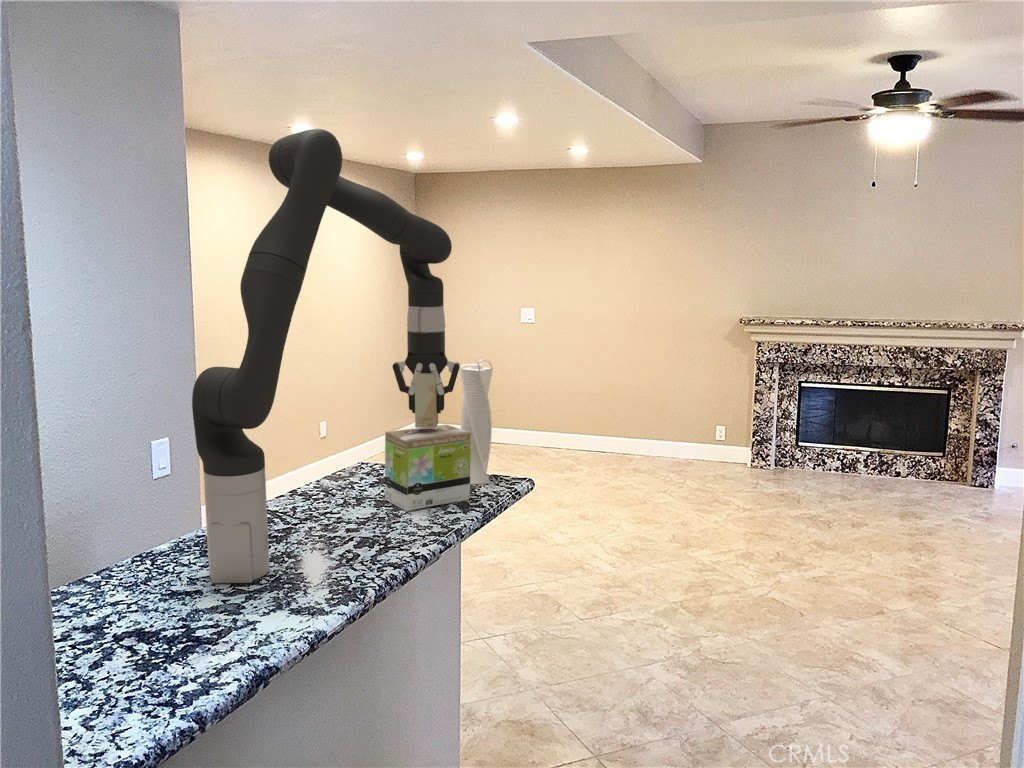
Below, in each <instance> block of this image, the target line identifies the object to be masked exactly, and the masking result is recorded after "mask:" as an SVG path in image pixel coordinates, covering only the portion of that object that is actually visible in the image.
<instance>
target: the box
mask: <svg viewBox="0 0 1024 768" xmlns="http://www.w3.org/2000/svg"><path fill="white" fill-rule="evenodd" d="M436 379H437V378H436V374H435V373H418V374H415V413H414V420H415V421H414V423H415V424H414V425H415V427H414V428H436V427H437V426H439V425H438V424H439V413H437V394H438V391H437V388H436Z"/></svg>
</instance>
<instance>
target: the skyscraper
mask: <svg viewBox="0 0 1024 768" xmlns="http://www.w3.org/2000/svg"><path fill="white" fill-rule="evenodd" d="M480 362H487V363H488V364H489V366H490V367H484V364H483V363H480ZM493 370H494V368H493V366H492V363H491V361H490V360H488V359H486V358H481V359H479V360H477V362H476V363H465V364H464V363H463V364H461V365H460V368H459V375H460V382H461V388H462V394H463V399H462V405H461V412H460V413H461V414H460V429H461V430H464V431H467V432H469V433H471V451H470V486H471V485H484V484H488V485H489V484H491V482H490V479H489V476H488V474H487V471H488V467H489V460H490V454H491V453H490V451H491V444H492V423H493V422H492V412H491V405H490V401H489V391H490V386H491V381H492V376H493Z"/></svg>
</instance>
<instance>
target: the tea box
mask: <svg viewBox="0 0 1024 768" xmlns="http://www.w3.org/2000/svg"><path fill="white" fill-rule="evenodd" d="M384 437H385V440H384V442H385V443H384V499H385V501H387V502H389V503H390V504H393V505H394V506H396V507H398V508H399V509H401V510H403V511H406V512H411V511H415V510H420V509H424V508H429V507H436V506H439V505H440V506H441V505H447V504H453V503H458V502H465V501H466V502H467V501H469V500H470V497H471V496H470V494H471V493H470V492H471V485H470V451H471V433H469V432H467V431H464V430H461V428H458V427H455V426H451V425H449V424H441V425H440V424H439V425H437V427H436V428H415V427H414V428H408V429H399V430H390V431H385V435H384Z"/></svg>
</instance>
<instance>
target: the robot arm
mask: <svg viewBox="0 0 1024 768" xmlns="http://www.w3.org/2000/svg"><path fill="white" fill-rule="evenodd" d="M269 149H270V150H269V152H268V164H269V168H270V170H271V174H273V175H272V176H274V178H275V179H276V181H278V182H279V184H281V185H282V186H284V187H286V188H287V189H288V190H287V193H286V195H285V197H284V199H283V201H282V203H281V205H280V206H279V208H278V209H277V211H276V212H275V213H274V215H272V217H271V218H270V220H268V222H267V223H266V225H265V226H264V227H263V228H262V230H261V231H260V232H259V234H258V235H257V238H256V239H255V240H254V242H253V244H252V247H251V249H250V251H249V253H248V255H247V256H248V257H247V260H246V263H245V266H244V269H243V272H242V276H241V279H240V284H239V285H240V289H239V290H240V297H241V303H242V306H243V311H244V313H245V314H244V315H245V318H246V322H247V323H246V324H247V332H248V335H247V342H246V344H245V350H244V355H243V357H242V360H241V363H240V365H239V367H228V366H211V367H209V368H206V369H205V370H203V371H202V372H201V373H200V374H199V375H198V376H197V378H196V380H195V381H194V382H195V383H194V385H193V389H192V394H191V395H192V396H191V398H192V399H191V405H192V406H191V408H192V419H193V427H194V437H195V445H196V450H197V454H198V456H199V458H200V460H201V461H202V469H203V483H204V484H203V485H204V501H205V502H204V503H205V504H204V505H205V520H206V521H205V525H206V538H207V539H206V543H207V555H208V560H207V561H208V576H209V578H210V580H211V583H212V584H249V583H253V581H254V580H257V579H259V578H262V577H264V576H265V575H266V574H268V573H269V572H270V549H269V548H270V547H269V529H268V526H269V525H268V508H267V507H268V504H267V485H266V482H267V480H266V459H265V452H264V450H263V449H262V447H260V446H259V445H258V444H256V443H255V442H254V441H252V440H251V439H250V438H249V437H248V436H247V435H246V433H245V432H244V430H253V429H256V428H258V427H260V426H261V425H262V424H264V423H265V421H266V419H268V417H269V414H270V413H271V410H272V407H273V405H274V402H275V398H276V393H277V392H276V391H277V389H278V384H279V383H278V382H279V378H280V377H279V376H280V372H281V368H282V367H281V366H282V360H283V355H284V349H285V346H286V341H287V339H288V334H289V330H290V328H291V327H290V326H291V323H292V319H293V316H294V311H295V310H296V309H295V308H296V305H297V302H298V300H299V296H300V293H301V291H302V286H303V283H304V279H305V276H306V272H307V270H308V264H309V261H310V256H311V254H312V250H313V247H314V246H315V245H314V244H315V242H316V239H317V235H318V233H319V232H318V231H319V228H320V225H321V221H322V220H323V218H324V217H323V216H324V214H325V212H326V210H327V207H329V208H331V209H333V210H336V211H337V212H339V213H341V214H343V215H344V216H346V217H348V218H350V219H352V220H354V221H355V222H357V223H359V224H360V225H362V226H363V227H365V228H366V229H368V230H370V231H371V232H372V233H374V234H375V235H377V236H379V237H380V238H381V239H383V240H385V241H386V242H388V243H390V244H392V245H396V246H399V256H400V261H401V264H402V268H403V272H404V276H405V279H406V282H407V287H408V288H407V291H408V293H407V301H408V303H407V304H408V307H407V314H406V315H407V316H406V317H407V318H406V319H407V321H406V322H407V324H406V325H407V328H406V330H407V331H406V334H407V336H406V337H407V355H406V358H405V360H402V361H399V362H398V361H395V362H394V363H392V369H393V373H394V375H395V376H394V377H395V379H396V383H397V385H398V389H399V391H400V393H405V394H407V395H408V410H409V411H411V413H412V414H415V374H418V373H435V374H436V378H437V379H436V388H437V391H438V394H437V413H438V414H442V411H444V409H445V395H446V394H448V393H452V392H453V390H454V388H455V384H456V380H457V378H458V374H459V372H460V370H459V368H460V366H461V365H460V362H459V361H457V362H454V361H450V360H448V358H447V356H446V319H445V318H446V317H445V308H444V282H443V280H442V279H441V278H440V277H439V276H435V275H434V274H432V273H431V270H430V266H429V265H430V264H431V265H433V264H434V265H435V264H436V265H437V264H441V263H444V262H445V261H446V260H447V259H449V257H450V255H451V253H452V247H453V246H452V245H453V244H452V240H451V238H450V236H449V234H448V233H447V231H445V229H443V228H442V227H441V226H440V225H437V224H436V223H433V222H431V221H429V220H428V219H426V218H424V217H421V216H419V215H416V214H414V213H412V212H410V211H409V210H408V209H407V208H405V207H403V206H402V205H401V204H400V203H398V202H397V201H395V199H393V198H391V197H390V196H388V195H386V194H384V193H383V192H380V191H378V190H376V189H373V188H370V187H369V186H365V185H362V184H360V183H357V182H354V181H351V180H350V179H347V178H345V177H343V176H341V172H342V168H343V167H342V166H343V152H342V147H341V146H340V142H339V140H338V139H337V137H336V136H335V135H334V134H333V133H331V132H330V131H329V130H326V129H320V128H315V129H312V128H311V129H307V130H303V131H299V132H297V133H291V134H289V135H286V136H283V137H282V138H279V139H278V140H277V141H275V142H274V143H273V144H272V145H271V148H269ZM405 367H407V368H408V370H409V371H410V372H411V374H412V375H413V376H412V379H411V381H410V386H409V385H406V381H405V377H404V374H403V373H404V371H405ZM446 367H448V373H451V374H450V377H449V380H448V384H447V385H445V386H444V384H443V379H442V377H441V373H443V371H444V370H445V368H446Z"/></svg>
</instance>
